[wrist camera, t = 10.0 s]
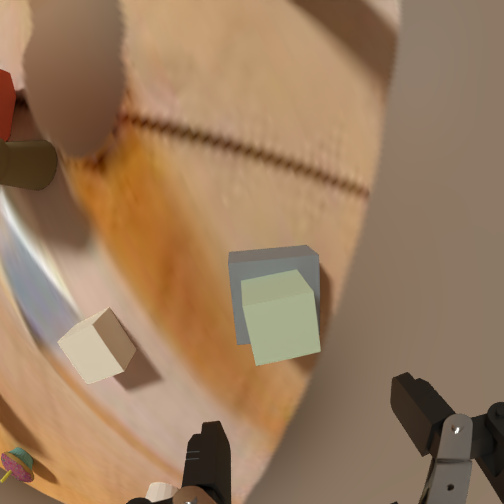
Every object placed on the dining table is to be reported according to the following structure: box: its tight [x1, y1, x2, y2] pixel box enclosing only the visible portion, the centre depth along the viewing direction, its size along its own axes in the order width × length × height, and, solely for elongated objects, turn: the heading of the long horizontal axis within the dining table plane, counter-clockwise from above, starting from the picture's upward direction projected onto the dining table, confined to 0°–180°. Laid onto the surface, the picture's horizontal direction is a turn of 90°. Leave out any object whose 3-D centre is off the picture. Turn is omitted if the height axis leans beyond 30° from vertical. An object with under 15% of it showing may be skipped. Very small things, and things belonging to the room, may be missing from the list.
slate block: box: [228, 245, 320, 345], centre depth 29 cm, size 8×8×5 cm
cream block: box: [58, 307, 137, 385], centre depth 29 cm, size 6×6×5 cm
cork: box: [0, 138, 57, 190], centre depth 22 cm, size 6×6×11 cm
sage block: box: [241, 269, 321, 366], centre depth 24 cm, size 5×5×6 cm
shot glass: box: [145, 482, 178, 502], centre depth 35 cm, size 7×7×7 cm
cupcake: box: [0, 447, 34, 483], centre depth 31 cm, size 9×8×12 cm
